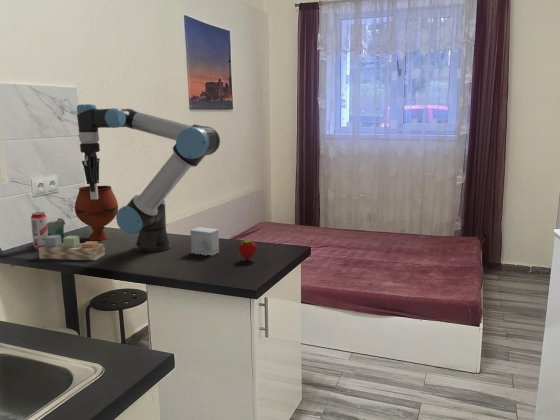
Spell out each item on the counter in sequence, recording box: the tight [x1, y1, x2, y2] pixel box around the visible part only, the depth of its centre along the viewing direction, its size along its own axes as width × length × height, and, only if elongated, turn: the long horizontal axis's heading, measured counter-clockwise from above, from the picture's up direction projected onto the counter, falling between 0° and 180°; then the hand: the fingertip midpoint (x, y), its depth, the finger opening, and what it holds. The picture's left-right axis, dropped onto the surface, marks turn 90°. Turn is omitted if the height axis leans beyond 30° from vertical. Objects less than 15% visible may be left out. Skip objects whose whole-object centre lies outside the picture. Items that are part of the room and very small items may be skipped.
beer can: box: [30, 211, 48, 251], centre depth 221 cm, size 6×6×16 cm
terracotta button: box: [82, 240, 99, 249], centre depth 208 cm, size 5×5×4 cm
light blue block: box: [45, 235, 63, 248], centre depth 209 cm, size 5×5×4 cm
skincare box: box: [190, 226, 220, 257], centre depth 214 cm, size 10×6×10 cm, turn 65°
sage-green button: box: [62, 235, 81, 248], centre depth 209 cm, size 5×5×4 cm
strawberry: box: [238, 239, 258, 261], centre depth 203 cm, size 6×8×10 cm
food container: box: [47, 217, 66, 243], centre depth 233 cm, size 12×6×10 cm, turn 168°
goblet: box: [74, 185, 119, 241], centre depth 238 cm, size 19×19×25 cm
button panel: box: [38, 242, 106, 261], centre depth 209 cm, size 24×9×4 cm, turn 84°
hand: (94, 199), depth 211 cm, fingers closed
